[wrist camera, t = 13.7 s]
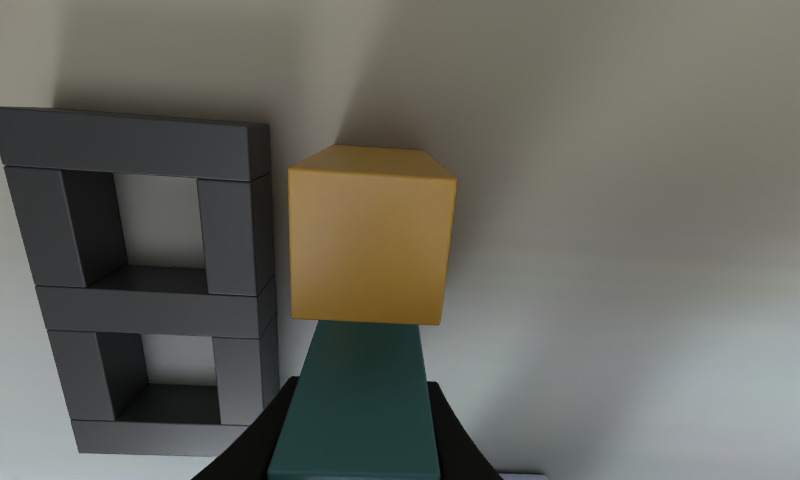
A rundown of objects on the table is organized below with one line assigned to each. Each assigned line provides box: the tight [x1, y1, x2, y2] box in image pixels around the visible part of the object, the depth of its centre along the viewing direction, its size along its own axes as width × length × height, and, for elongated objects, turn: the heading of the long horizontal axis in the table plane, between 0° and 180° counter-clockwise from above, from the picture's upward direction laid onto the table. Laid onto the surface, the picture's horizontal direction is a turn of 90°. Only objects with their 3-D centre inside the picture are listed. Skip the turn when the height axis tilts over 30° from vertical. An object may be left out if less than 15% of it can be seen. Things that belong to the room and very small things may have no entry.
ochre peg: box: [288, 145, 458, 325], centre depth 13 cm, size 4×4×8 cm
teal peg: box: [267, 320, 441, 480], centre depth 13 cm, size 4×4×8 cm
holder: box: [0, 107, 279, 457], centre depth 16 cm, size 15×9×2 cm, turn 176°
